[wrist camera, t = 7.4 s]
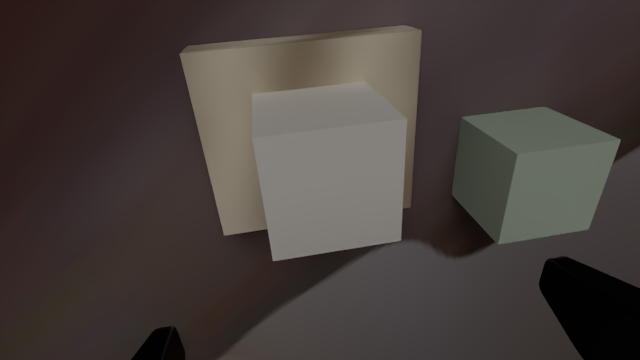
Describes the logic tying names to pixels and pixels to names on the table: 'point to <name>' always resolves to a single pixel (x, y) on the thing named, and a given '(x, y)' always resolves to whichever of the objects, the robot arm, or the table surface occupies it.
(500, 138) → the sage block
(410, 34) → the slab
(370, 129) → the white block
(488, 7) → the table surface
